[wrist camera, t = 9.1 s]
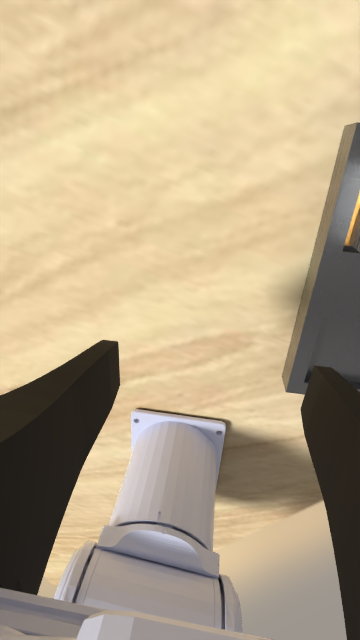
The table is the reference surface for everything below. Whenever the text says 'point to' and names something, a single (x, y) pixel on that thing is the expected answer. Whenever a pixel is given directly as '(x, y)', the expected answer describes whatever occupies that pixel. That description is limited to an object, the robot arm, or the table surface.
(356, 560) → the robot arm
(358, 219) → the grey square block
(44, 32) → the table surface
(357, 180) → the dark gray slotted base
